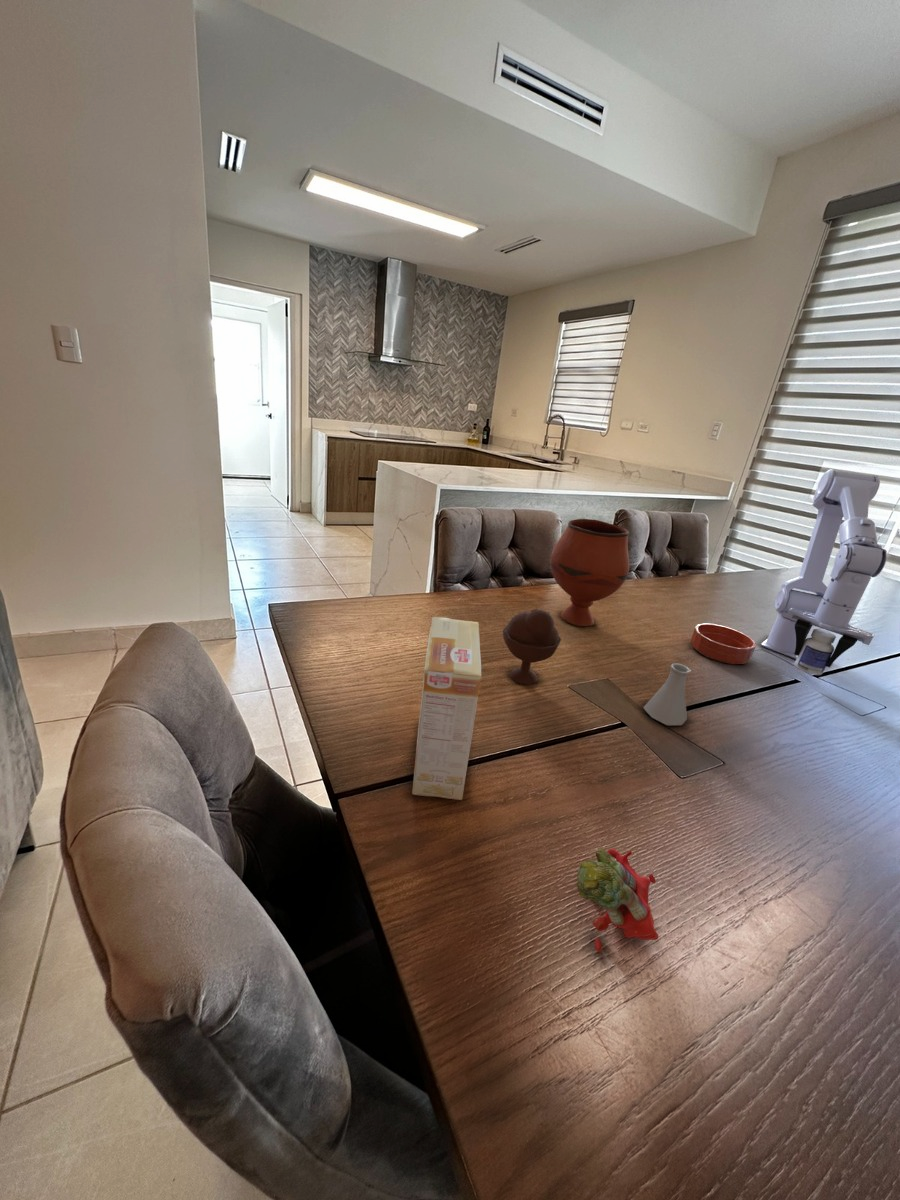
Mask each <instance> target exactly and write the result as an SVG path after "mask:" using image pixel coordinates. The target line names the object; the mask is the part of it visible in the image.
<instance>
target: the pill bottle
mask: <svg viewBox="0 0 900 1200" xmlns="http://www.w3.org/2000/svg"><path fill="white" fill-rule="evenodd" d="M836 638H837V636H836V635H835V633H833V632H831V631H828V630H825V629H822V628H814V629H813V630H812V632H811V635H810V637H806V639H805V641H804V643H803V645H802V648H801V650H800V652H799V654H798V656H797V658H796V659H795V661H794V663H793V664H794V665H793V666H795V668H796V669H798V670H800V671H801V672H804V673H807V674H808V675H812V676H813V675H814V676H821V675H823V674H824V672H825V670H826V668H827V667H826V664H827V662H828V661H829V659H830V657H831V656H832V654H833V652H834V650H835V646H834V645H833V644H834V642H835V640H836Z"/></svg>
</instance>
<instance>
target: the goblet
mask: <svg viewBox="0 0 900 1200" xmlns="http://www.w3.org/2000/svg"><path fill="white" fill-rule="evenodd" d="M629 535H630V531H629V530H628V529H626V528H625V527H622V526H618V525H616V524H613V523H609V522H605V521H602V520H598V519H591V518H589V519H588V518H577V519H571V520H569V521H568V523H567V527H566V528H565V530H564V531H563V533H561V535H560V537H559V538H558V540H557V542H556V544H555V546H554V547H553V550H552V552H551V555H550V562H549V563H550V570H551V574H552V576H553V578H554V581H555V582H556V584H557V585H558V586H559V587H560V588H561V589H562V590H563V592H565V593H566V594H567V595H569V596H570V598H569V599H570V602H571V604H570V605H569V606H567V607H565V608H564V609H563V610H562V612H560V618H561V620H563V621H564V622H567V623H569V624H572V625H574V626H579V627H588V626H593V625H594V623H595V619H594V616H593V614H592V612H591V611H590V607H591V606H593V605H594V602H597V601H600V600H602V599H605V598H607V597H609V596H611V595H613V594H614V593H616V592H617V591H618V590H620V588H621V587H622V586H623V584H624V583H625V582H626V580H627V579H628V576H629V573H630V555H629V546H628V545H629V544H628V543H629Z"/></svg>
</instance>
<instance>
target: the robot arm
mask: <svg viewBox="0 0 900 1200" xmlns="http://www.w3.org/2000/svg"><path fill="white" fill-rule="evenodd" d="M880 485H881V481H880V477H879V475H877V474H872V475H871V474H863V473H856V472H848V471H842V470H835V469H833V468H832V469H831V468H830V469H828V470H827V471H825V472H824V473H823V474H822V476H821V477H820V479H819V480H818V483H817V485H816V490H815V493H814V496H813V499H812V501H813V502H812V504H811V506H812V507H814V508H815V509H816V510H817V515H816V519H815V523H814V526H813V529H812V532H811V536H810V538H809V542H808V545H807V548H806V552H805V555H804V558H803V561H802V565H801V568H800V571H799V574H798V576H797V577H795V578H792V579H789V580H786V581H784V582H783V583H782V584H781V586H780V589H779V591H778V593H777V595H776V597H775V601H774V610H775V611H776V612H777V613H778V614H777V616H776V619H775V621H774V623H773V626H772V627H771V629H770V633H769V634H768V637H767V638H766V639H765V640H764V641H762V642H761V643H760V646H761V647H764V648H766V649H769V650H772V651H774V652H776V653H779V654H781V655H785V656H787V657H789V658H792V659H795V660H796V658H797V656H798V654H799V652H800V650H801V648H802V645H803V643H804V641H805V639H807V638H808V635H809V633H810V631H811V629H812V627H813V626H814V627H816V628H818V629H821V630H825V631H828V632H830V633H833V634H836V635H837V634H838V635H841V636H840V638H839V639H838V642H837V644H836V646H835V647H834V651H833V653H832V655H831V657H830V659H829V661H828V662H827V664H826V668H831V667H832V665H833V664H834V662H835V661H836V660H837V659H838V658H839V657H840V656H841V655H842V654H844V653H845V652H847V651H848V650H849V649H851V648H852V647H854V646H855V644H856V643H857V642H861V643H862V644H864V645H866V646H870V644H871V643H872V641H873V639H874V637H875V634H874V633H871V632H869V631H865V630H863V629H861V628H858V627H856V626H853V625H851V624H850V622H851V619H852V617H853V615H854V613H855V611H856V610H857V607H858V606H859V604H860V601H861V599H862V598H863V596H864V593H865V592H866V589H867V587H868V585H869V583H870V581H871V579H872V578H876V577H877V576H879V575H880V574H881V572H882V571H883V569H884V567H885V565H886V562H887V558H888V555H887V554H888V551H887V549H886V548H885V547H883V545H881V544H878V538H877V529H876V523H875V522H874V521H873V519H871V518H869V506H870V505H869V504H870V502H871V501H873V499H874V498H875V497H876V495H877V493H878V491H879V489H880ZM843 519H844V521H843ZM842 521H843V522H842ZM838 535H839V536H838ZM837 537H839V549H838V550H837V552H836V555H835V556H834V557H835V558H834V561H833V566H832V570H831V572H830V577H831V578H830V580H829V583H828V585H826V584H825V582H823V581H824V577H825V574H826V571H827V569H828V565H829V562H830V559H831V555H832V553H833V550H834V547H835V543H836V541H837V540H836V539H837Z"/></svg>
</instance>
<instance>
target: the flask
mask: <svg viewBox="0 0 900 1200" xmlns="http://www.w3.org/2000/svg"><path fill="white" fill-rule="evenodd" d="M669 669H670V672H669V674H668V676H667V678H666V679H665V681H664V683H663V684H662V686H661V687H660V688H659V689H658V690H657V691H656V692H655V694H654V695H653V696H652V697H651V698H650V699H649V700H648V701H647V703H646V704H645V705H644V706H642V707H643V710H644V711H645V712H646V713H647V714H648V715H649V716H650V718H652V719H653V720H656V721H657V722H660V723H661V724H663V725H665V726H682V725H684V724H685V722H686V721H688V713H687V704H686V690H685V689H686V681H687V677H688V675H689V674H690V673H691V672H692V670H691V669H690V668H689V667H688V666H686V665H684V664H681V663H675V662H674V663H672V664H671V665H669Z"/></svg>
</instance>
